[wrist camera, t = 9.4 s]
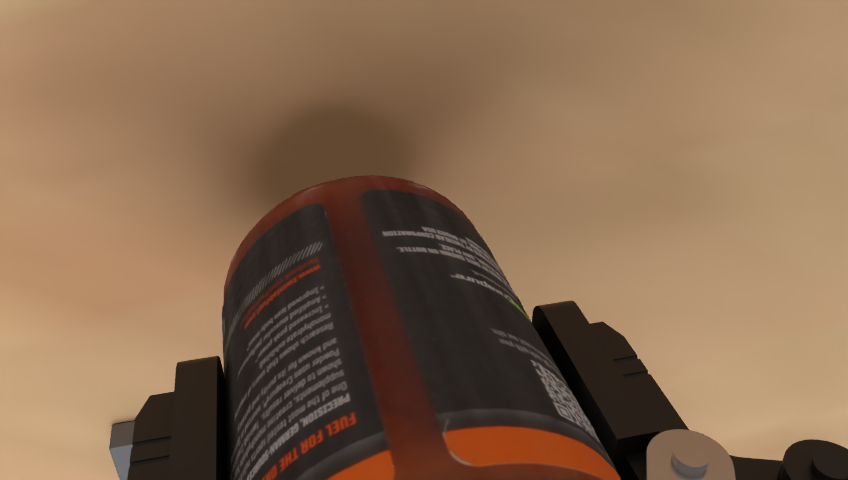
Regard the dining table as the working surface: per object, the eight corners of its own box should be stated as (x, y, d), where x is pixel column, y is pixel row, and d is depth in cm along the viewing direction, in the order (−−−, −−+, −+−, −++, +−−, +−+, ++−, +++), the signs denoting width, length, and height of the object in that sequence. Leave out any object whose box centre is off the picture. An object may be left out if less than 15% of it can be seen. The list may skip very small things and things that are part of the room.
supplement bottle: (199, 371, 17) (182, 1074, 8) (251, 137, 15) (315, 783, 5) (438, 391, 20) (643, 968, 10) (522, 190, 17) (902, 720, 8)
